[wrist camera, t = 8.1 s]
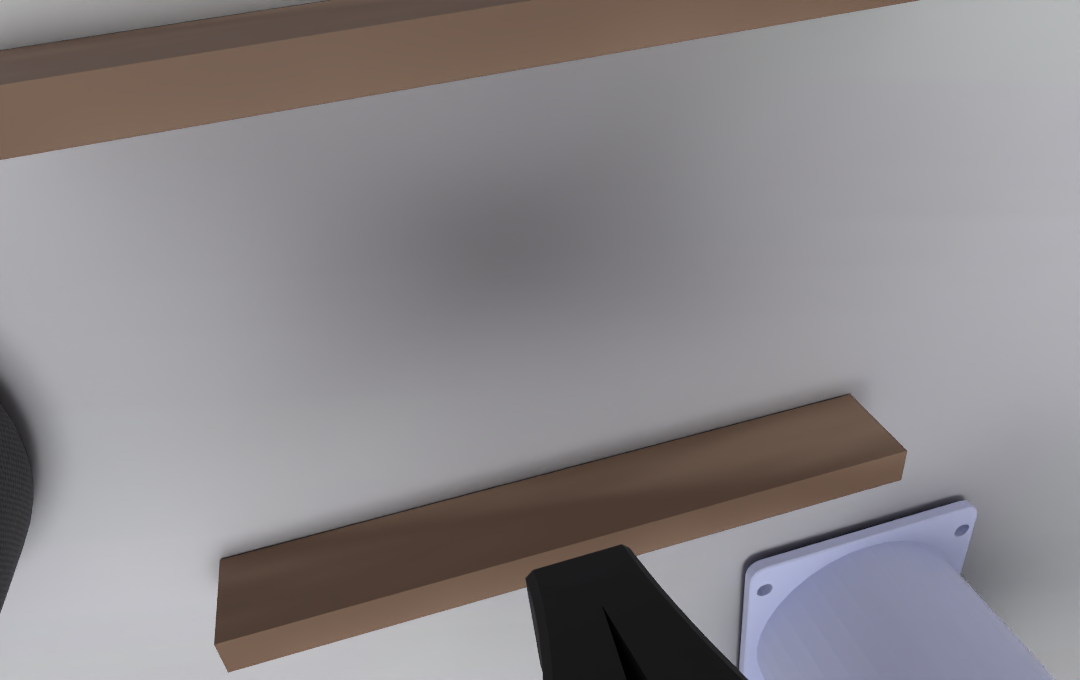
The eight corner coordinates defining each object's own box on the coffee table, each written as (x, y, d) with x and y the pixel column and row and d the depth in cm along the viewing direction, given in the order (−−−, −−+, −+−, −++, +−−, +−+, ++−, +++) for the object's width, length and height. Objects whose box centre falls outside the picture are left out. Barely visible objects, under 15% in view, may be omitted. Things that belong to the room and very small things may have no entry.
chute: (846, 421, 23) (901, 479, 21) (232, 587, 20) (228, 672, 18) (921, -91, 16) (1015, -77, 14) (-12, 52, 13) (-64, 94, 11)
